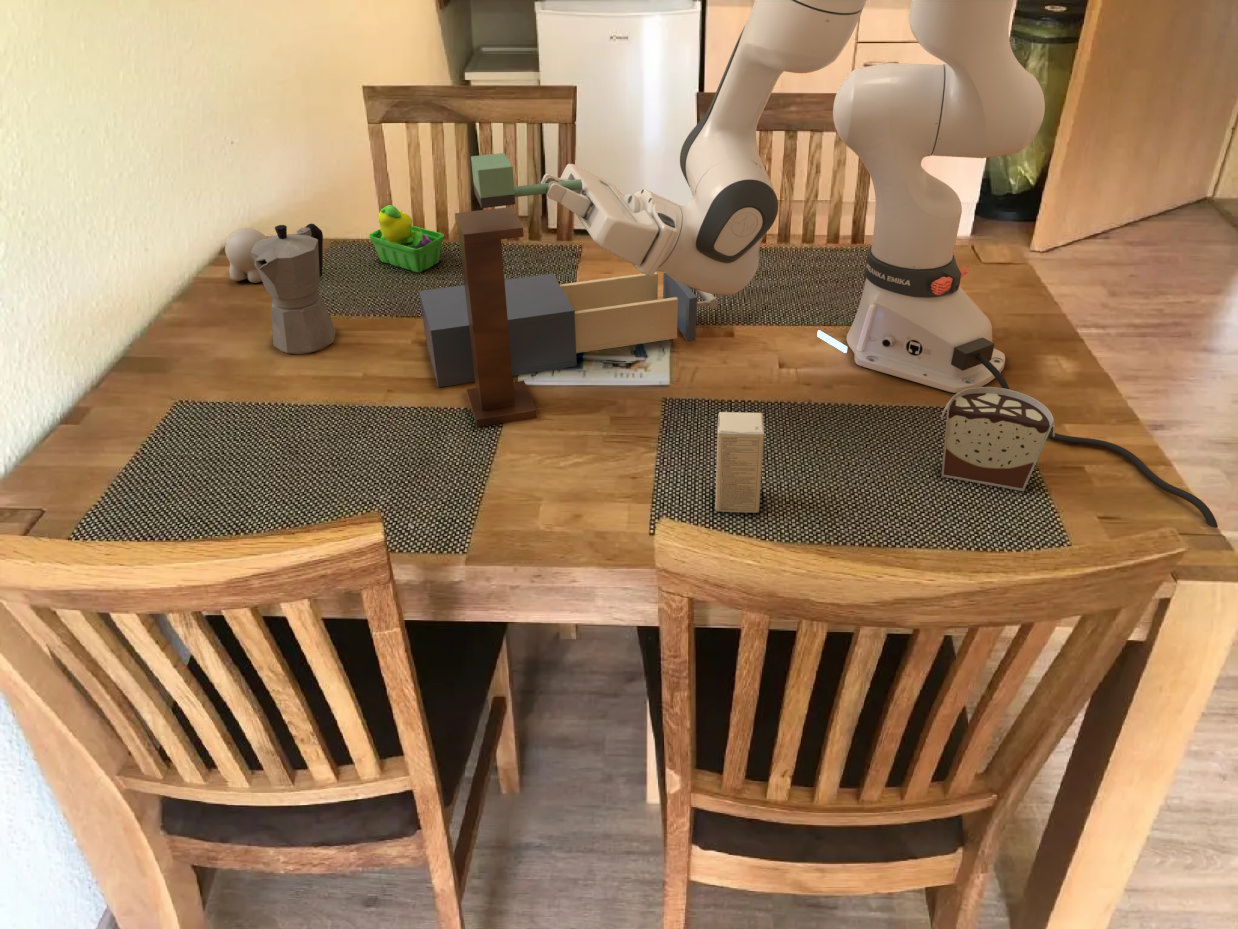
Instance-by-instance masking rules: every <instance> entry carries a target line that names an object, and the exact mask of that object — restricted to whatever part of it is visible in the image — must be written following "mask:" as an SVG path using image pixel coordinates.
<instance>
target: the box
mask: <svg viewBox="0 0 1238 929" xmlns="http://www.w3.org/2000/svg"><path fill="white" fill-rule="evenodd" d="M717 416H718V417H717V433H716V434H717V436H716V438H717V439H716V441H717V442H716V467H715V468H716V470H715V471H716V473H715V474H716V475H715V502H714V503H715V505H714V507H715V511H716V512H720V513H721V512H722V513H742V514H744V513H745V514H746V513H748V514H750V513H754V514H756V513H759V512H760V502H761V485H762V484H761V483H762V470H763V457H764V456H763V454H764V439H765V423H764V414H763V413H762V412H743V411H742V412H741V411H738V412H737V411H735V412H733V411H720V412H718V415H717Z"/></svg>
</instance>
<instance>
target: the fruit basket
mask: <svg viewBox="0 0 1238 929" xmlns="http://www.w3.org/2000/svg"><path fill="white" fill-rule="evenodd" d="M377 216H378V217H377V220H378V223H379V229H377V230H375V231H373V232H370V233H369V234H368V238H369V239H370V242H372V245H373V247H374V248H375V250H376V253H377V256H378V257H379V260H380V262H382V263H385V264H389V265H391V266H395V267H398V268H401V269H405V270H408V271H412V272H413V273H418V274H421V273H422V272H423V271H427V270H428V269H429V268H431V267H433V266H434V265H437V264H439V262H440V258H441V257H440V256H441V249H442V243H443V241H444V236H445V235H444V233H442V232H438V231H435V230H430V229H427V228H423V227H420V226H415V225H413V218H412V217H411V216H410V215H409V214H408V213H406V212H404V211H402V210H399V209H398V208H397V207H396V206H394V205H391V204H388V205H386V206H384V207H383V208H381V209H380V211H379V213H378V215H377Z"/></svg>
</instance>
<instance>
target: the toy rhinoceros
mask: <svg viewBox="0 0 1238 929" xmlns="http://www.w3.org/2000/svg"><path fill="white" fill-rule="evenodd" d="M267 238H268V237H267V236H266V235H265V234H264V233H263V232H261V231H260V230H258V229H255V228H253V227H242V228H238V229H236V230H234V231H233V232H231V233H230V234H229V236H228V237H227V239H226V242H225V246H224V252H225V255H226V259H227V260H228V261H229V269H228V273H229V277H230V280H231V281H234V282H240V281H241V282H242V281H243V280H246V279H247V280H248V281H249V282H250V283H252V284H257V283H261V282H262V279H261V277H260V274H259V272H258V270H257V268H256V267H255V262H254V260H253V257H252V255H251V250H252V249H253V247H254V245H255V243H256V242H258V241H261V240H264V239H267Z"/></svg>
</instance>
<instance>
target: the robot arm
mask: <svg viewBox="0 0 1238 929" xmlns="http://www.w3.org/2000/svg"><path fill="white" fill-rule="evenodd" d="M866 3H867V0H754V2H753V6H752V9H751V12H750V15H749V16H748V19H747V21H746V23H745V24H744V26H743V28H742V30H741V33H740V34H739V36H738V39H737V41H736V43H735V46H734V47H733V50H732V53H731V55H730V57H729V59H728V62H727V64H726V67H725V69H724V72H723V75H722V77H721V78H720V82H719V84H718V87H717V89H716V92H715V94H714V96H713V98H712V101H711V103H710V105H709V107H708V108H707V111H706V112H705V113H704V115H703V117H702V118H701V119H700V120H699V122H697V124H696V125H695V126H694V127H693V129H692V130H691V131H690V132H689V134H688V135H687V136H686V139H685V140H684V142H683V144H682V146H681V149H680V153H679V166H680V170H681V173H682V175H683V177H684V180H685V181H686V183H687V185H688V187H689V190H690V192H691V196H692V198H691V200H690V201H689V203H687V204H686V205H680V204H678V203H676V202H673V201H671V200H670V199H667V198H666V197H664V196H661V195H659V194H657V193H654V192H652V191H650V190H649V189H640V190H638V191H636V192H635V193H634V194H632V193H627V194H623V192H622V191H621V189H620V188H618V186H616V185H614V184H613V183H611V182H610V181H608V180H607V179H604V178H603V177H601V176H599V175H597V174H595V173H593V172H591V171H590V170H587V169H585V168H583V167H581V166H579V165H577V164H574V163H568V164H567V165H565V168H564V170H563V172H562V173H561V175H560V177H558V176H556V175H554V174H551V173H545V174H544V175H543V177H542V179H541V181H540V184H542V183H549V184H548V187H547V188H546V195H547V197H548V199H549V200H552V201H554V202H557V203H559V204H560V205H562V206H563V207H565V208H566V209H568V210H569V211H570V212H571V213H573V214H575V216H576V217H577V218H578V220H579V221H580V223H581V224H582V226H583V227H584V229H585V230H586V231H587V233H588V234H589V236H590V237H591V239H592V240H593V242H594V243H595V244H596V245H597V246H599V247H600V248H602V250H603V249H604V250H605V251H606V252H608V253H610V254H612V255H613V256H616V257H618V258H619V259H621V260H624V261H625V262H627V263H629V264H631V265H633V267H634V268H635V269H636V270H637V271H638V272H639V273H640V274H642V273H643V274H645V275H648V276H653V275H654V273H655V272H660V273H663V274H664V273H666V274H668V275H669V276H670V277H671V278H672V279H673V280H675V281H677V282H679V283H682V284H684V285H687V286H689V287H692V288H694V289H693V290H695V289H697V290H700V291H703V292H706V293H710V294H712V295H715V296H716V295H717V296H730V295H731V296H732V295H734V294H737V293H739V292H740V291H742V290H743V289H745V288H746V287H747V286H748V285H749V284H750V282H751V281H752V280H753V279H754V277H755V275H756V274H757V271H758V269H759V265H760V248H761V244H762V241H763V239H764V237H765V235H766V234H767V232H769V230H770V229H771V228H772V226H773V225H774V224H775V221H776V218H777V217H778V212H779V200H778V196H777V194H776V191H775V188H774V186H773V183H772V180H771V178H770V176H769V174H768V172H767V171H766V167H765V165H764V163H763V161H762V158H761V155H760V152H759V148H758V140H757V129H758V123H759V122H760V119H761V116H762V115H763V112H764V110H765V108H766V106H767V104H768V101H769V99H770V97H771V95H772V92H773V91H774V88H775V86H776V84H777V82H778V81H779V78H780V77H781V75H782V74H783V73H784V72H785V73H786V72H787V73H791V74H809V73H814V72H817V71H819V70H822V69H824V68H826V67H828V66H830V65H831V64H832V63H834V62H835V61H836V60H837V59H838V58H839V56H840V55H841V54H842V52H843V51H844V49H845V47H846V45H847V44H848V43H849V41H850V39H851V37H852V35H853V33H854V31H855V29H856V27H857V24H858V22H859V20H860V17H861V15H862V12H863V10H864V8H865V6H866ZM1013 3H1014V0H911V2H910V7H909V13H908V24H909V27H910V30H911V33H912V35H913V38H914V39H915V40H916V41H917V43H918V44H919V45H920V46H921V47H922V48H923V49H924V50H925V51H926V52H927V53H928V54H930V55H932V56H933V57H935V58H936V59H938V60H940V61H941V62H943V64H931V63H928V64H927V63H900V62H888V63H881V64H874V65H869V66H862V67H858V68H854V69H853V70H852V71H851V72H850V73H848V75H847V76H846V77H845V78H844V79H843V81H842V82H841V84H840V85H839V88H838V89H837V91H836V93H835V96H834V101H833V104H832V105H833V106H832V119H833V124H834V128H835V131H836V133H837V135H838V137H839V138H840V140H841V141H842V142H843V144H844V145H845V146H846V147H847V148H849V149H850V150H852V152H853V153H854V154H855V155H856V156H857V157H858V159H860V161H861V162H862V163H863V165H864V167H865V168H866V170H867V172H868V174H869V176H870V179H871V182H872V185H873V190H874V197H875V198H874V200H875V206H874V207H875V209H874V225H873V232H872V241H871V245H870V246H869V247H868V250H867V254H866V259H865V265H864V271H863V280H864V285H863V289H862V290H863V291H862V294H861V298H860V301H859V305H858V307H857V311H856V314H855V317H854V319H853V322H852V323H851V326H850V328H849V330H848V332H847V333H846V338H845V340H846V343H847V345H845V344H843V343H842V342H840V341H838V340H837V339H835V338H834V337H832V336H830V335H829V334H827V333H825V332H823V331H821V330H820V329H819V330H817V333H816V334H817V335H816V336H817V338H819V339H821V340H823V341H824V342H826V343H827V344H829V345H830V346H833V347H834V348H836V349H838V350H839V351H841V352H842V353H844V354H846V353H848V347H849V348H850V350H851V351H852V352H853V354H854V356H853V360H854V363H855V364H856V365H858V366H859V367H863V368H866V369H870V370H872V371H876V372H880V373H883V374H887V375H891V376H894V377H896V378H899V379H900V378H901V379H904V380H906V381H907V380H908V381H911V382H914V383H917V384H920V385H924V386H928V387H931V388H935V389H938V390H941V391H945V392H949V393H952V394H953V393H954V394H957V393H959V392H960V391H963V390H966V389H970V388H976V387H985V386H986V385H987V384H989V383H990V382H992V381H993V380H996V381H997V382H998V384H999V385H1000V388H1004V389H1009V390H1011V389H1010V387H1009V385H1008V382H1007V380H1006V379H1005V377H1004V376H1003V374H1002V371H1003V370H1004V368H1005V365H1006V355H1005V353H1004V352H1002V351H1000V350H999V349H997V348H995V345H996V343H995V342H993V325H992V323H991V322H992V321H991V320H990V318H989V317H988V316H987V315H986V314H985V313H984V312H983V310H981V309H980V307H979V306H978V305H977V304H976V302H974V300H973V299H972V298H971V297H970V295H969V294H968V293H967V292H966V291H965V289H964V288H963V287H962V286H961V279H962V278H963V277H965V276H966V275H967V274H968V273H969V272H968V270H969V268H970V267H969V265H966V266H965V267H963V268H959V267H958V264H957V260H956V257H955V254H954V253H955V248H956V243H957V238H958V232H959V227H960V222H961V217H962V214H963V213H962V212H963V208H962V202H961V199H960V197H959V195H958V193H957V192H956V191H955V190H954V189H953V188H952V187H951V186H949V185H948V184H947V183H946V182H944V181H943V180H941V179H939V178H937V177H935V176H934V175H933V174H930V173H929V172H928V171H926V170H925V169H924V167H923V166H922V162H923V159H924V158H927V157H946V158H947V157H949V158H950V157H951V158H966V159H967V158H968V159H969V158H970V159H987V158H988V159H989V158H995V157H996V158H997V157H1002V156H1008V155H1014V154H1020V153H1022V152H1023V151H1024V150H1025V149H1026V148H1027V147H1028V146H1029V145H1030V144H1031V143H1032V141H1033V140H1034V139H1035V138H1036V136H1037V134H1038V133H1039V131H1040V129H1041V127H1042V125H1043V122H1044V117H1045V111H1046V103H1045V102H1046V101H1045V95H1044V92H1043V89H1042V87H1041V84H1040V83H1039V81H1038V79H1037V78H1036V77H1035V76H1034V75H1033V74H1032V73H1031V72H1029V71H1028V70H1027V69H1025V67H1024V66H1023V65H1022V64H1021V63H1020V62H1019V60H1018V59H1017V58H1016V56H1015V54H1014V51H1013V50H1012V46H1011V42H1010V36H1009V35H1010V34H1009V32H1010V31H1009V28H1010V27H1009V26H1010V20H1011V13H1012V8H1013ZM577 179H581V181H582V189H581V190H573V191H572V190H569V189H567V188H565V187H564V185H562V184H560V183H557V182H560V181H568V180H577ZM1047 439H1050V440H1053V441H1057V442H1061V443H1065V444H1066V443H1067V444H1072V445H1081V446H1082V445H1083V446H1089V447H1091V446H1092V447H1096V448H1102V449H1106V450H1109V451H1112V452H1114V453H1116V454H1118V455H1120V456H1121V457H1124V458H1125V459H1126V460H1128V461H1129V462H1130V463H1132V465H1134V466H1135V467H1136V468H1137V469H1138V470H1139V471H1140V473H1141V474H1142V475H1143V476H1144V477H1145V478H1146V479H1147V480H1149V481H1150V482H1151V483H1153V485H1155V486H1157V487H1158V488H1160V489H1162V490H1163V491H1165V492H1167V493H1169V494H1171V495H1174V496H1177V497H1179V498H1180V499H1182V500H1185V501H1187V502H1189V503H1190V504H1192V505H1193V506H1194V507H1195V508H1197V509H1198V511H1199V512H1200V513H1201V514H1202V516H1203V517H1204V519H1205V521H1206V523H1207V525H1208V526H1209V527H1211V528H1215V529H1217V528H1218V527H1219V525H1218V521H1217V520H1216V517H1215V515H1214V514H1213V512H1212V511H1211V509H1210V508H1209V506H1207V504H1206V503H1205V502H1204V501H1203V500H1202V499H1200V498H1198V496H1196V495H1194V494H1193V493H1190V492H1188V491H1186V490H1184V489H1181V488H1179V487H1177V486H1175V485H1172V484H1170V483H1169V482H1166V481H1165V480H1163V479H1162V478H1161V477H1159V476H1158V475H1157V474H1155V473H1154V472H1153V471H1152V470H1151V469H1150V468H1149V467H1148V466H1147V465H1146V463H1144V462H1143V460H1141V459H1140V458H1139V457H1138V456H1137V455H1135V454H1134V453H1133V452H1131V451H1130V450H1128V449H1126V448H1124V447H1122V446H1120V445H1118V444H1115V443H1112V442H1109V441H1106V440H1103V439H1102V440H1101V439H1098V438H1097V439H1096V438H1090V437H1081V436H1072V435H1066V434H1061V433H1057V432H1055V437H1053V435H1052V431H1051V430H1050V433H1049V435H1048V437H1047Z"/></svg>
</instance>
